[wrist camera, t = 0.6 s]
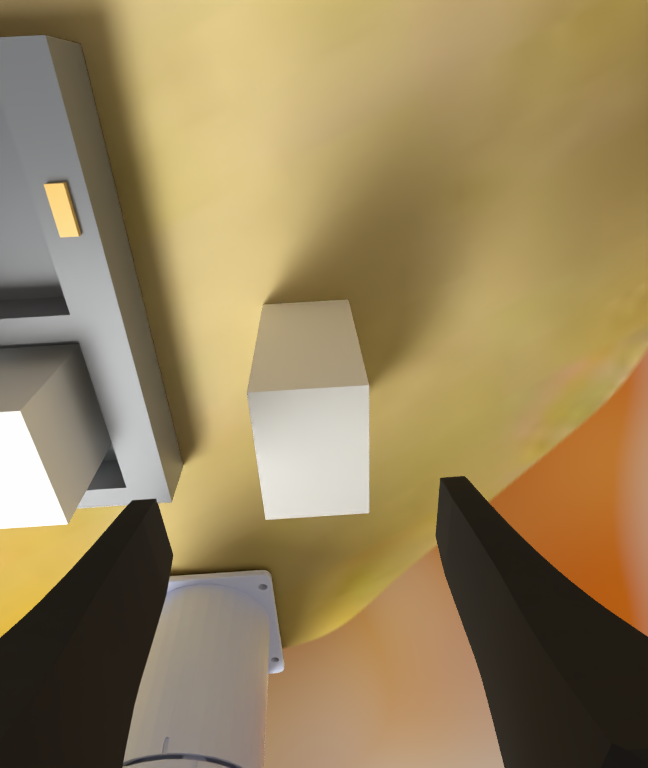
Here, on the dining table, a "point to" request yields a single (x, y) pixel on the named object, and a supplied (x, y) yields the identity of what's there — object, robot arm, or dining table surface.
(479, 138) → the dining table surface
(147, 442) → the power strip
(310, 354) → the plug
